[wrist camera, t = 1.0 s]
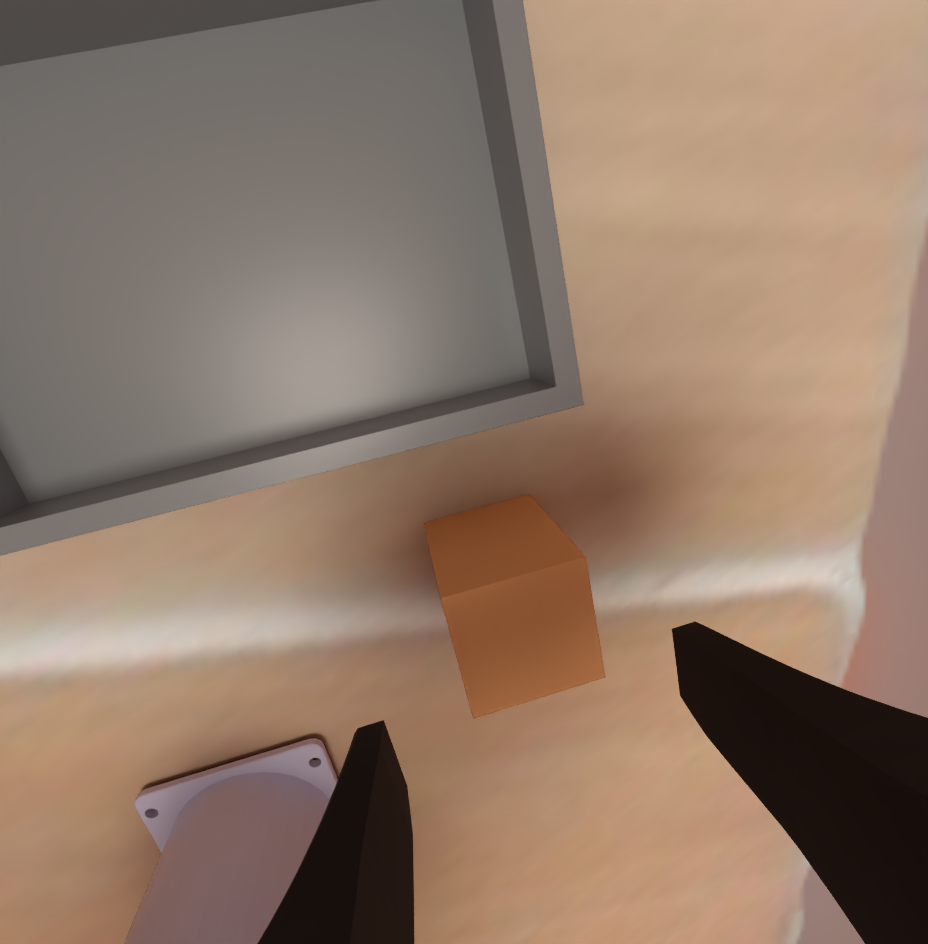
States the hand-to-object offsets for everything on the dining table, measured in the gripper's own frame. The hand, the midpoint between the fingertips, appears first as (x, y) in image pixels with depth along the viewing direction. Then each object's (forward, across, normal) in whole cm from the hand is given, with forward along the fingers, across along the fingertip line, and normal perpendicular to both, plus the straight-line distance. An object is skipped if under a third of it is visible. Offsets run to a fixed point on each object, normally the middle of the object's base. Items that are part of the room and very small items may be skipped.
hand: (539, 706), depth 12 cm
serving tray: (+9, +5, -12) cm, 16 cm away
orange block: (+10, -1, +1) cm, 10 cm away
